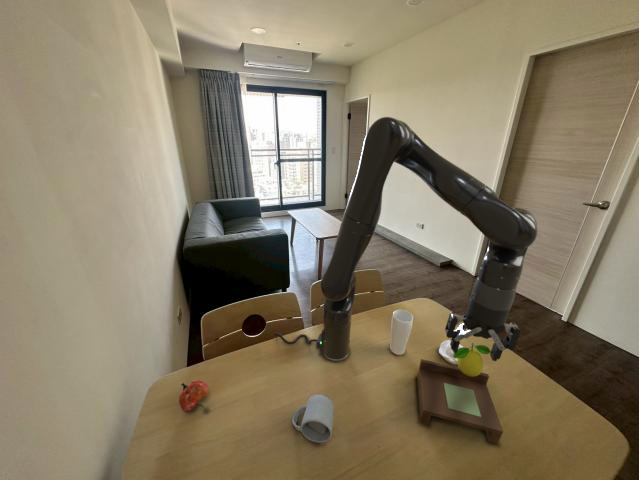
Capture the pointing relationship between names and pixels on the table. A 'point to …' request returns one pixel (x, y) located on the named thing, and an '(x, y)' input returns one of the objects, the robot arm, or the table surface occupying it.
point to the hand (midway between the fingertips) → (473, 354)
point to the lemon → (471, 359)
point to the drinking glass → (400, 331)
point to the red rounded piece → (192, 395)
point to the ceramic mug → (316, 418)
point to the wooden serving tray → (457, 398)
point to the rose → (448, 352)
